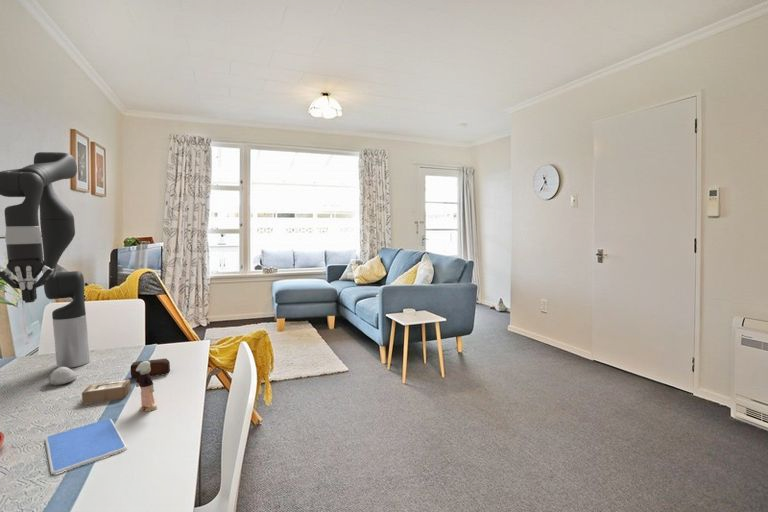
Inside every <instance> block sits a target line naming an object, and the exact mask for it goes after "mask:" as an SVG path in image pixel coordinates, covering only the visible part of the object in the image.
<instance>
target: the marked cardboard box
mask: <svg viewBox="0 0 768 512" xmlns="http://www.w3.org/2000/svg"><path fill="white" fill-rule="evenodd" d="M131 391H132V386H131V379H123V380H115V381H108V382H102V383H93V384H89V385H88V386H87V387H86V388H85V389H84V390H83V391H82V392H81V400H82V405H88V404H93V403H101V402H107V401H109V402H110V401H114V400H120V399H121V400H122V399H126V398H127V396H128V395H129V394H130V392H131Z"/></svg>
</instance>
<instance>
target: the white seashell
mask: <svg viewBox="0 0 768 512" xmlns="http://www.w3.org/2000/svg"><path fill="white" fill-rule="evenodd" d="M78 376H79V375H78V373H77V372H75V371H74V370H72V369H71V368H67V367H59V368H57V367H56V368H55V369H54V370H53V371H52V372H51V374H50V375H49V377H48V378H49V379H48V380H49V384H50V385H52V386H53V385H54V387H56V385H57V386H61V385H65V384H67V383H70V382H73V381H74V380H75V379H76V378H77V377H78Z"/></svg>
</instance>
